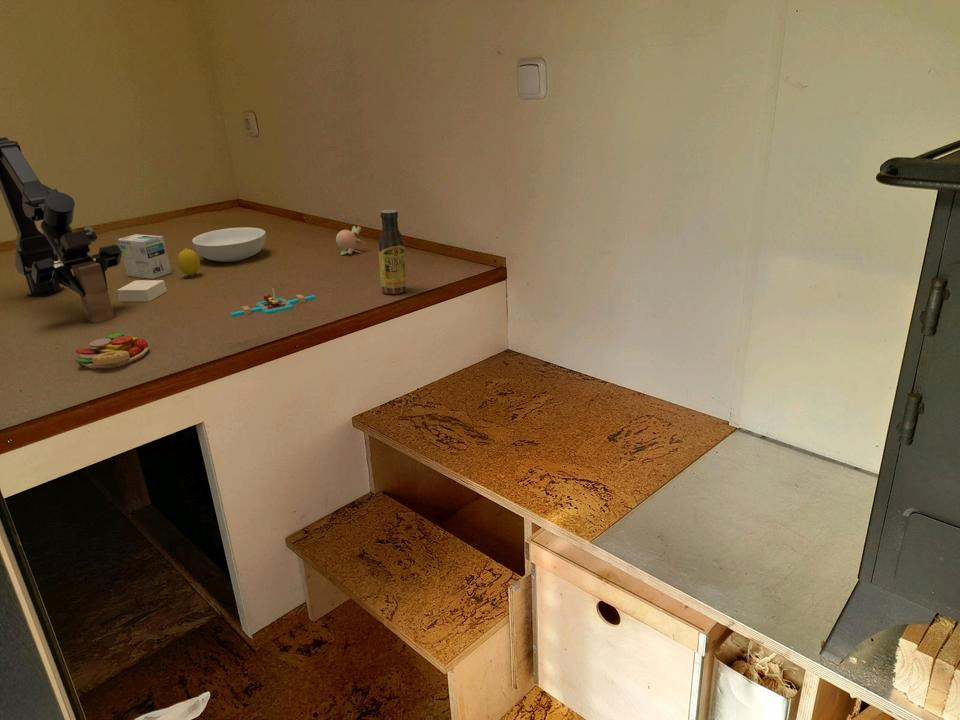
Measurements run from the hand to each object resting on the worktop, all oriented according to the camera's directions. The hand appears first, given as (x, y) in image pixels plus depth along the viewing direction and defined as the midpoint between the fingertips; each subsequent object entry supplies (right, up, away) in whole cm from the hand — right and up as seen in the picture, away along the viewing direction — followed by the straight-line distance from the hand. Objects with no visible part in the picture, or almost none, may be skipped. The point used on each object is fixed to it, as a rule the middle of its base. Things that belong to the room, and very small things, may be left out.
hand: (95, 292), depth 159 cm
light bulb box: (-5, +8, +36) cm, 38 cm away
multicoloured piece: (+39, -3, +7) cm, 40 cm away
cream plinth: (+2, +1, +18) cm, 18 cm away
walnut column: (-1, -6, +3) cm, 7 cm away
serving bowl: (+14, +15, +49) cm, 54 cm away
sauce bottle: (+67, +1, +12) cm, 68 cm away
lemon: (+9, +8, +33) cm, 35 cm away
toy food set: (+14, -15, -19) cm, 28 cm away
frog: (+49, +17, +49) cm, 72 cm away
